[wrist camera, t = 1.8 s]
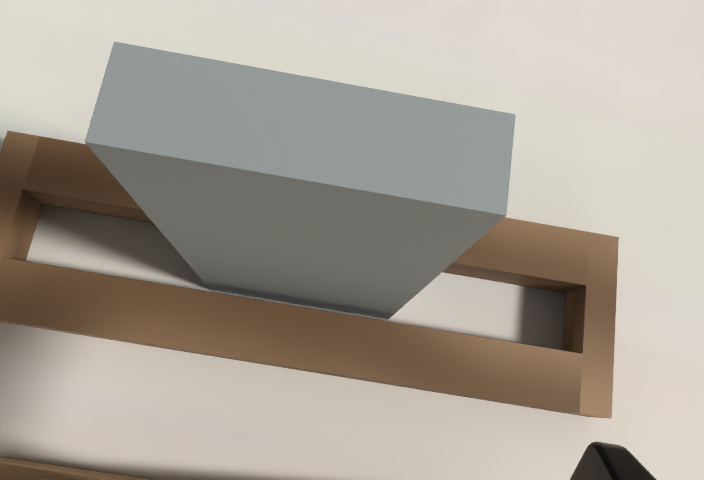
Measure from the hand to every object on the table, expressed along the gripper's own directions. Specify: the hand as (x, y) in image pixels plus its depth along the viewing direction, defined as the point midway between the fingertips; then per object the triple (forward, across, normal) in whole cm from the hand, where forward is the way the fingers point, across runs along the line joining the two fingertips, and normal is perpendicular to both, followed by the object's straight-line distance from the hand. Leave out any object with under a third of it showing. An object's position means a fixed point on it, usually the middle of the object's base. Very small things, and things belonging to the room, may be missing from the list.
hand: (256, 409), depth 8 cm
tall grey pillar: (+11, 0, +6) cm, 12 cm away
